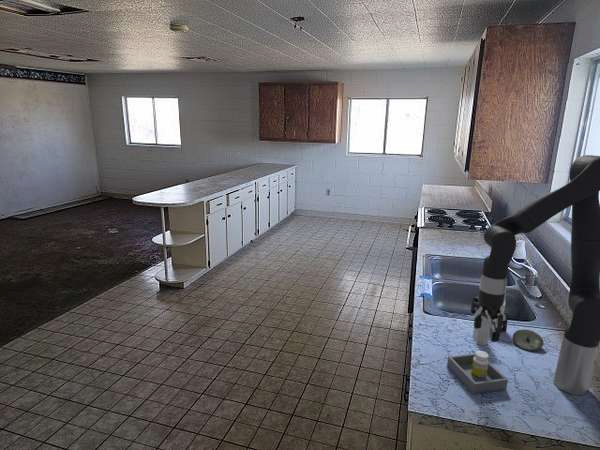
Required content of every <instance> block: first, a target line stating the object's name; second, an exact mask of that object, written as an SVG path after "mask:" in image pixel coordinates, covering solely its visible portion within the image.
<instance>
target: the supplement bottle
mask: <svg viewBox="0 0 600 450" xmlns="http://www.w3.org/2000/svg"><path fill="white" fill-rule="evenodd" d="M489 361H490V360H489V354H488V352H485V351H483V350H477V351H475V357H474V358H473V364H472V370H471V375H472V376H473V377H474V378H476V379H479V380H484V379H485V378H486V375H487V369H488V363H490V362H489Z"/></svg>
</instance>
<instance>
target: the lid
mask: <svg viewBox="0 0 600 450" xmlns="http://www.w3.org/2000/svg"><path fill="white" fill-rule="evenodd" d="M512 342H513V344H514V345H515V346H516V347H518V348H520V349H522V350H525V351H528V352H529V351H537V350H540V349H541V348H542V347H543V346H544V344H545V343H544V339H543V338H542V336H541V335H540V334H539V333H537V332H535V331H533V330H530V329H518V330H515V332H513V334H512Z"/></svg>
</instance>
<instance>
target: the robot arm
mask: <svg viewBox="0 0 600 450" xmlns="http://www.w3.org/2000/svg"><path fill="white" fill-rule="evenodd" d="M569 207H571V233H570V258H571V259H570V260H571V261H570V263H571V264H570V265H571V279H570V286H569V291H568V293H569V294H568V299H567V301H568V306H569V309H570V311H571V312H572V318H571V320H570V325H568V326H566V327H565V329H564V332H563V337H562V341H561V346H560V351H559V355H558V359H557V363H556V369H555V371H554V375H553V383H554V385H555V387H557V388H558V389H560V390H561V391H563V392H566V393H568V394H571V395H574V396H575V395H576V396H582V395H585V394H587V392H588V391H590V389H591V385H592V384H591V383H592V380H593V376H594V372H595V370H596V369H595V368H596V364H595V360H596V356H597V353H598V348H599V345H600V155H592V154H585V155H581V156H579V157H577V158H576V159H575V160H574V161H573V162H572V164H571V165H570V169H569V182H567V183H566V184H564V185H562V186H561V187H559V188H557V189H555V190H553V191H551V192H548V193H546V194H544V195H541V196H540V197H537V198H535V199H534V200H531V201H530V202H529V203H527V204H526V205H524V206H523V207H522V208H520V209H519V210H517V211H516V212H515V213H513V214H512V215H510V216H507V217H504V218H503V219H501V220H498V221H496V222H494V223H493V224H491V225H490V226H489V227H488V228H487V229H486V230H485V231H484V233H483V240H484V242H485V243H486V244H487V245H488V246H489V247H490V252H489V255H487V256H485V258H484V260H483V263H482V272H481V275H480V276H481V277H480V280H479V287H478V294H477V296H473V297H472V302H471V307H470V313H471V314H472V315H473V318H474V323H473V329H474V328H476V329H478V328H481V324H482V318H481V317H482V316H483V317H486V319H488V321H489V324H490V325H491V326H492V328H491V329H492V331H491V335H490V336H491V337H490V342H492V343H497V342H499V341H500V336H501V334H503V333H507V329H508V328H507V327H508V321H509V320H508V319H509V316H508V313H504V314H502V313H501V311H500V308H501V306H502V305H503V304H504V298H505V294H506V290H507V283H508V282H507V280H508V272H509V265H510V264H511V261H512V259H513V256H514V254H515V251H516V247H517V237H516V236H517V235H518V234H529V233H531V232H533V231H535V230H536V229H538V228H539V227H540V226H542V225H543V224H544V223H546V222H547V221H548V220H550V219H551V218H553V217H554V216H557V215H558V214H559V213H561V212H562V211H564V210H566V209H568V208H569ZM495 319H496V320H497V321H492V320H495ZM495 324H497V328H496V327H495Z"/></svg>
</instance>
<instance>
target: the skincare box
mask: <svg viewBox="0 0 600 450" xmlns="http://www.w3.org/2000/svg"><path fill="white" fill-rule="evenodd" d="M481 318H482V324H481V328H478V329H476V328H474V327H473V330H472V331H473V332H472V337H473V339H474V342H475V344H476V345H489V344H488V343H489V338H490V331H491V328H490V327H491V325H490V324H489V321H488V319H486V317H483V316H482V317H481Z"/></svg>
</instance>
